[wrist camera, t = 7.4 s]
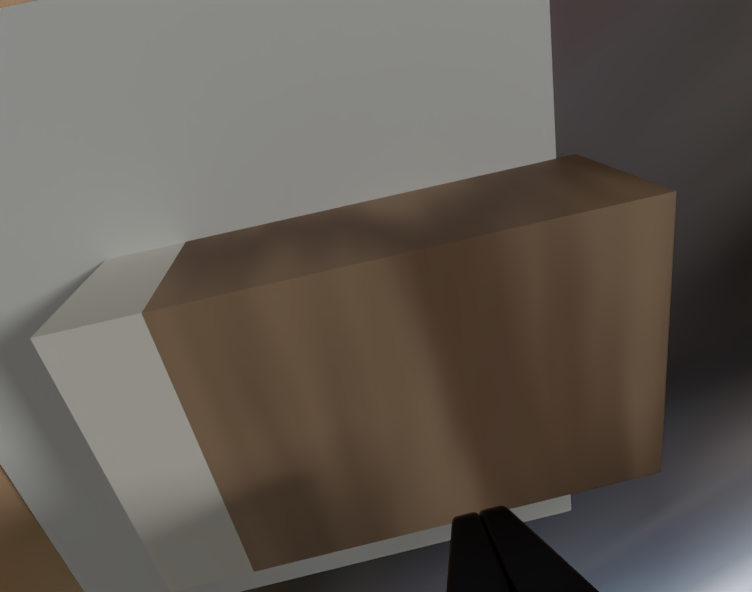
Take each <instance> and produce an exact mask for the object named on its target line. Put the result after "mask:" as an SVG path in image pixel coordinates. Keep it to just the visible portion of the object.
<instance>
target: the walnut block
mask: <svg viewBox="0 0 752 592" xmlns="http://www.w3.org/2000/svg"><path fill="white" fill-rule="evenodd" d="M675 208H676V191H675V190H672V189H669V188H667V187H664V186H661V185H658V184H656V183H653V182H650V181H648V180H645V179H642V178H639V177H637V176H634V175H631V174H628V173H626V172H623V171H620V170H618V169H615V168H612V167H609V166H607V165H604V164H601V163H598V162H596V161H593V160H590V159H588V158H585V157H582V156H579V155H577V154H575V155H570V156H566V157H561V158H557V159H552V160H548V161H543V162H539V163H534V164H530V165H526V166H521V167H517V168H512V169H508V170H503V171H499V172H494V173H490V174H485V175H481V176H476V177H472V178H468V179H463V180H459V181H454V182H450V183H445V184H441V185H436V186H432V187H427V188H423V189H418V190H414V191H410V192H405V193H401V194H396V195H392V196H387V197H383V198H378V199H374V200H369V201H365V202H360V203H356V204H352V205H347V206H343V207H338V208H334V209H329V210H325V211H320V212H316V213H311V214H307V215H302V216H298V217H294V218H289V219H285V220H280V221H276V222H271V223H267V224H262V225H258V226H253V227H249V228H245V229H240V230H236V231H231V232H227V233H222V234H218V235H213V236H209V237H204V238H200V239H195V240H191V241H187V242H182V243H178V244H173V245H169V246H164V247H160V248H155V249H151V250H146V251H142V252H137V253H133V254H129V255H124V256H120V257H115V258H111V259H106V260H105V261H104V262H103V263H102V264H101V265H100V266H99V267H98V268H97V269H96V270H95V271H94V272H93V273H92V274H91V275H90V276H89V278H88V279H87V280H86V281H85V282H84V283H83V284H82V285H81V286H80V287H79V288H78V289H77V290H76V291H75V292H74V293H73V294H72V295H71V296H70V297H69V298H68V299H67V300H66V301H65V303H64V304H63V305H62V306H61V307H60V308H59V309H58V310H57V311H56V312H55V313H54V314H53V315H52V316H51V317H50V318H49V319H48V320H47V321H46V322H45V323H44V324H43V325H42V326H41V328H40V329H39V330H38V331H37V332H36V333H35V334H34V335H33V336H32V337H31V338H30V339H31V341H32V343H33V345H34V347H35V348H36V350H37V352H38V354H39V356H40V357H41V359H42V361H43V363H44V365H45V366H46V368H47V370H48V372H49V374H50V376H51V377H52V379H53V381H54V383H55V385H56V386H57V388H58V390H59V392H60V394H61V395H62V397H63V399H64V401H65V403H66V405H67V406H68V408H69V410H70V412H71V414H72V415H73V417H74V419H75V421H76V423H77V424H78V426H79V428H80V430H81V432H82V434H83V435H84V437H85V439H86V441H87V443H88V444H89V446H90V448H91V450H92V452H93V453H94V455H95V457H96V459H97V461H98V462H99V464H100V466H101V468H102V470H103V472H104V473H105V475H106V477H107V479H108V481H109V482H110V484H111V486H112V488H113V490H114V491H115V493H116V495H117V497H118V499H119V501H120V502H121V504H122V506H123V508H124V510H125V511H126V513H127V515H128V517H129V519H130V520H131V522H132V524H133V526H134V528H135V530H136V531H137V533H138V535H139V537H140V539H141V540H142V542H143V544H144V546H145V548H146V549H147V551H148V553H149V555H150V557H151V558H152V560H153V562H154V564H155V566H156V568H157V569H158V571H159V573H160V575H161V577H162V578H163V580H164V582H165V584H166V586H167V587H168V589H169V591H170V592H174V591H178V590H182V589H186V588H190V587H194V586H199V585H203V584H207V583H211V582H215V581H219V580H223V579H227V578H231V577H235V576H239V575H243V574H247V573H252V572H256V571H260V570H264V569H268V568H272V567H276V566H280V565H284V564H288V563H292V562H296V561H300V560H305V559H309V558H313V557H317V556H321V555H325V554H329V553H333V552H337V551H341V550H345V549H349V548H353V547H357V546H362V545H366V544H370V543H374V542H378V541H382V540H386V539H390V538H394V537H398V536H402V535H406V534H410V533H415V532H419V531H423V530H427V529H431V528H435V527H439V526H443V525H447V524H451V523H452V520H453V518H454V517H455V516H459V515H463V514H467V513H471V512H476V513H478V514H479V513H480V511H481V510H484V509H488V508H492V507H496V506H501V505H502V506H505V507H507V508H508V509H512V508H516V507H521V506H525V505H529V504H533V503H537V502H541V501H545V500H549V499H553V498H557V497H561V496H565V495H569V494H574V493H578V492H582V491H586V490H590V489H594V488H598V487H602V486H606V485H610V484H614V483H618V482H622V481H627V480H631V479H635V478H639V477H643V476H647V475H651V474H655V473H659V472H661V462H662V444H663V426H664V408H665V390H666V371H667V353H668V335H669V317H670V299H671V281H672V263H673V244H674V226H675Z"/></svg>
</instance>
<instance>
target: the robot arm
mask: <svg viewBox="0 0 752 592" xmlns="http://www.w3.org/2000/svg"><path fill="white" fill-rule="evenodd" d="M447 592H599V591H598V590H597V589H596V588H594V587H593V586H592V585H591V584H590V583H589V582H588V581H587V580H586V579H585V578H584V577H582V576H581V575H580V574H579V573H578V572H577V571H576V570H575V569H574V568H573V567H572V566H570V565H569V564H568V563H567V562H566V561H565V560H564V559H563V558H562V557H561V556H560V555H558V554H557V553H556V552H555V551H554V550H553V549H552V548H551V547H550V546H549V545H548V544H546V543H545V542H544V541H543V540H542V539H541V538H540V537H539V536H538V535H537V534H536V533H535V532H533V531H532V530H531V529H530V528H529V527H528V526H527V525H526V524H525V523H524V522H523V521H521V520H520V519H519V518H518V517H517V516H516V515H515V514H514V513H513V512H512V511H511V510H509V509H508V508H507V507H505V506H502V505H501V506H496V507H492V508H488V509H484V510H481V511H480V513H479V514H478V513H476V512H471V513H467V514H463V515H459V516H455V517H454V518H453V520H452V527H451V540H450V553H449V566H448V579H447Z"/></svg>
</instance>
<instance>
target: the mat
mask: <svg viewBox="0 0 752 592" xmlns="http://www.w3.org/2000/svg"><path fill="white" fill-rule="evenodd" d="M552 159H556V145H555V122H554V98H553V75H552V52H551V29H550V5H549V0H37V1H32V2H27V3H22V4H18V5H13V6H8V7H3V8H0V465H1V466H2V468H3V469H4V471H5V472H6V474H7V475H8V477H9V478H10V480H11V481H12V483H13V484H14V486H15V487H16V489H17V490H18V492H19V493H20V495H21V497H22V498H23V500H24V501H25V503H26V504H27V506H28V507H29V509H30V510H31V512H32V513H33V515H34V516H35V518H36V519H37V521H38V522H39V524H40V525H41V527H42V528H43V530H44V531H45V533H46V535H47V536H48V538H49V539H50V541H51V542H52V544H53V545H54V547H55V548H56V550H57V551H58V553H59V554H60V556H61V557H62V559H63V560H64V562H65V563H66V565H67V566H68V568H69V570H70V571H71V573H72V574H73V576H74V577H75V579H76V580H77V582H78V583H79V585H80V586H81V588H82V589H83V591H84V592H170V591H169V589H168V587H167V586H166V584H165V582H164V580H163V578H162V577H161V575H160V573H159V571H158V569H157V568H156V566H155V564H154V562H153V560H152V558H151V557H150V555H149V553H148V551H147V549H146V548H145V546H144V544H143V542H142V540H141V539H140V537H139V535H138V533H137V531H136V530H135V528H134V526H133V524H132V522H131V520H130V519H129V517H128V515H127V513H126V511H125V510H124V508H123V506H122V504H121V502H120V501H119V499H118V497H117V495H116V493H115V491H114V490H113V488H112V486H111V484H110V482H109V481H108V479H107V477H106V475H105V473H104V472H103V470H102V468H101V466H100V464H99V462H98V461H97V459H96V457H95V455H94V453H93V452H92V450H91V448H90V446H89V444H88V443H87V441H86V439H85V437H84V435H83V434H82V432H81V430H80V428H79V426H78V424H77V423H76V421H75V419H74V417H73V415H72V414H71V412H70V410H69V408H68V406H67V405H66V403H65V401H64V399H63V397H62V395H61V394H60V392H59V390H58V388H57V386H56V385H55V383H54V381H53V379H52V377H51V376H50V374H49V372H48V370H47V368H46V366H45V365H44V363H43V361H42V359H41V357H40V356H39V354H38V352H37V350H36V348H35V347H34V345H33V343H32V341H31V339H30V338H31V337H32V336H33V335H34V334H35V333H36V332H37V331H38V330H39V329H40V328H41V326H42V325H43V324H44V323H45V322H46V321H47V320H48V319H49V318H50V317H51V316H52V315H53V314H54V313H55V312H56V311H57V310H58V309H59V308H60V307H61V306H62V305H63V304H64V303H65V301H66V300H67V299H68V298H69V297H70V296H71V295H72V294H73V293H74V292H75V291H76V290H77V289H78V288H79V287H80V286H81V285H82V284H83V283H84V282H85V281H86V280H87V279H88V278H89V276H90V275H91V274H92V273H93V272H94V271H95V270H96V269H97V268H98V267H99V266H100V265H101V264H102V263H103V262H104V261H105V260H106V259H111V258H115V257H120V256H124V255H129V254H133V253H137V252H142V251H146V250H151V249H155V248H160V247H164V246H169V245H173V244H178V243H182V242H187V241H191V240H195V239H200V238H204V237H209V236H213V235H218V234H222V233H227V232H231V231H236V230H240V229H245V228H249V227H253V226H258V225H262V224H267V223H271V222H276V221H280V220H285V219H289V218H294V217H298V216H302V215H307V214H311V213H316V212H320V211H325V210H329V209H334V208H338V207H343V206H347V205H352V204H356V203H360V202H365V201H369V200H374V199H378V198H383V197H387V196H392V195H396V194H401V193H405V192H410V191H414V190H418V189H423V188H427V187H432V186H436V185H441V184H445V183H450V182H454V181H459V180H463V179H468V178H472V177H476V176H481V175H485V174H490V173H494V172H499V171H503V170H508V169H512V168H517V167H521V166H526V165H530V164H534V163H539V162H543V161H548V160H552ZM509 510H511V511H512V512H513V513H514V514H515V515H516V516H517V517H518V518H519V519H520V520H521V521H523V522H526V521H531V520H535V519H539V518H543V517H547V516H551V515H555V514H559V513H563V512H567V511H571V494H569V495H565V496H561V497H557V498H553V499H549V500H545V501H541V502H537V503H533V504H529V505H525V506H521V507H516V508H512V509H509ZM451 527H452V523H451V524H447V525H443V526H439V527H435V528H431V529H427V530H423V531H419V532H415V533H410V534H406V535H402V536H398V537H394V538H390V539H386V540H382V541H378V542H374V543H370V544H366V545H362V546H357V547H353V548H349V549H345V550H341V551H337V552H333V553H329V554H325V555H321V556H317V557H313V558H309V559H305V560H300V561H296V562H292V563H288V564H284V565H280V566H276V567H272V568H268V569H264V570H260V571H256V572H252V573H247V574H243V575H239V576H235V577H231V578H227V579H223V580H219V581H215V582H211V583H207V584H203V585H199V586H194V587H190V588H186V589H182V590H178V591H174V592H241V591H245V590H250V589H254V588H258V587H262V586H266V585H270V584H274V583H278V582H282V581H286V580H290V579H294V578H298V577H302V576H307V575H311V574H315V573H319V572H323V571H327V570H331V569H335V568H339V567H343V566H347V565H351V564H355V563H360V562H364V561H368V560H372V559H376V558H380V557H384V556H388V555H392V554H396V553H400V552H404V551H408V550H412V549H417V548H421V547H425V546H429V545H433V544H437V543H441V542H445V541H449V540H451Z"/></svg>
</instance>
